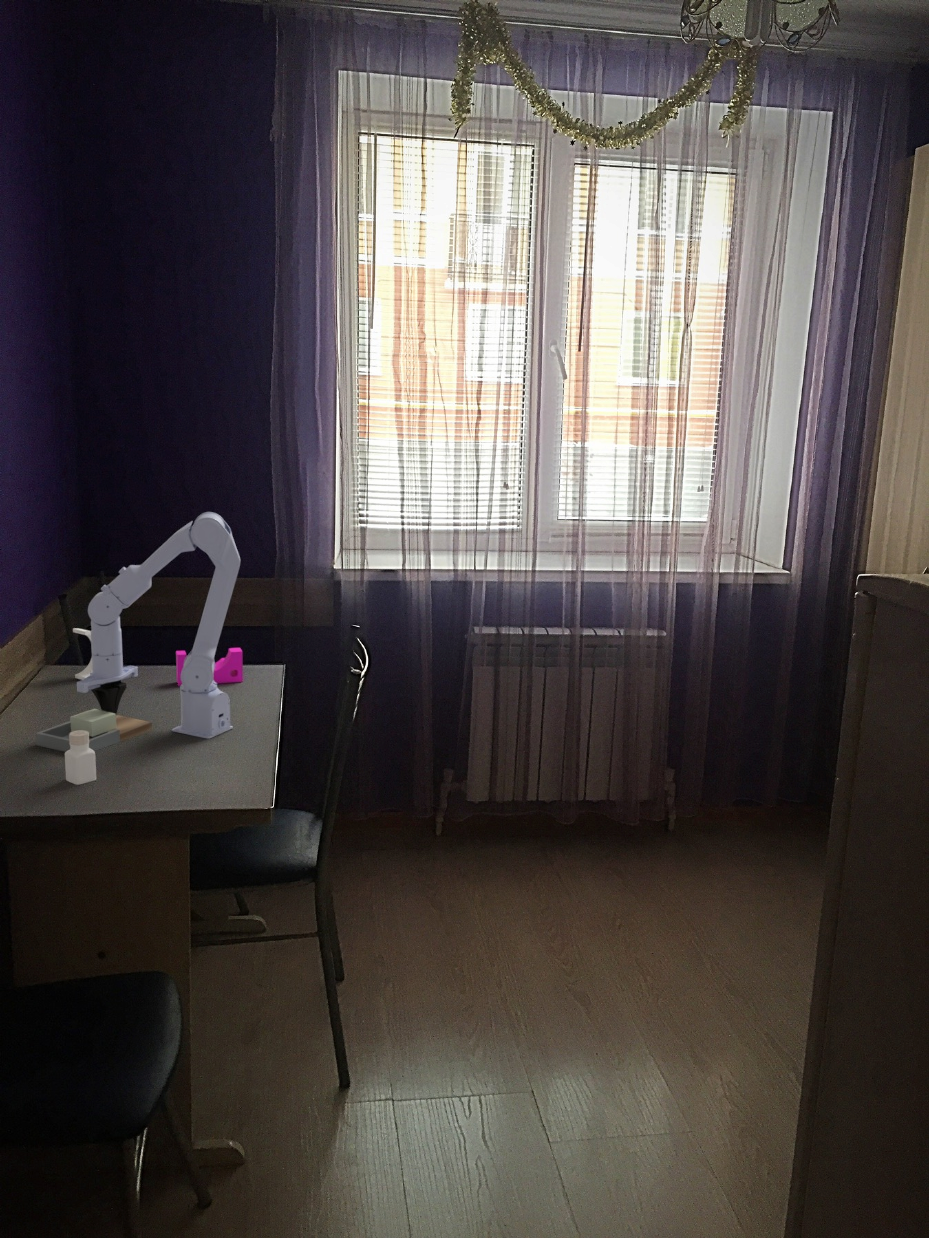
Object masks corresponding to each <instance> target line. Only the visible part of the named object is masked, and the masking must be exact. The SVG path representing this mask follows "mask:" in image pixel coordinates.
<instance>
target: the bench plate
mask: <svg viewBox="0 0 929 1238" xmlns="http://www.w3.org/2000/svg"><path fill="white" fill-rule="evenodd" d="M116 725H117V728H116V729H118V730H120V742H119V743H121V742H123V741H127V740H129V739H131V738H134V736H135V737H136V736H140V735H143V734H144V733H148V732H151V731H153V722H152V721H147V720H143V719H138V718H134V717H128V716H124V715H121V714H120V715H119V714H117V715H116ZM113 730H115V729H113ZM113 730H110V731H113ZM110 731H107V732H104V733H102V734H105V733H108V732H110ZM102 734H99V735H96V736H100V735H102Z"/></svg>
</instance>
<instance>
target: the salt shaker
mask: <svg viewBox="0 0 929 1238" xmlns="http://www.w3.org/2000/svg"><path fill="white" fill-rule="evenodd" d="M69 740H70V741H69V743H70V750H68V751H66V752H64V765H65V766H64V768H65V781H67V782H69V783H72V784H74V785H77V786H79V785H83V784H87V783H90V782H93V781H96V780H97V767H96V765H97V763H96V761H97V759H96V753H95V752H96V751H93V750H92V749H90V748H89V732H88V731H84V730H78V731H73V732H70V734H69Z"/></svg>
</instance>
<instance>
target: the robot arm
mask: <svg viewBox="0 0 929 1238" xmlns="http://www.w3.org/2000/svg"><path fill="white" fill-rule="evenodd" d="M192 524H193V525H192ZM197 547H198V548H199V549H200V550H201V551H203V552H204V553H206V554H207V555H208V558H209V559H210V560H211V562H212V564H213V565H214V566H215V569H214V571H213V576H212V580H211V583H210V585H209V586H210V587H209V590H208V594H207V597H206V601H205V604H204V608H203V612H202V616H201V617H200V618H201V619H200V623H199V626H198V629H197V633H196V635H195V639H194V643H193V647H192V649H191V651H190V652H189V653H188V655H187V654H186V655H187V657H186V658H185V660H184V667H183V669H182V671H181V681H182V684H181V685H180V686H179V688H180V689H179V690H180V691H179V693H180V722H181V723H180V725H177V726H176V727H173V728H172V729H171V731H172V732H174V733H179V734H185V735H188V736H192V737H197V738H203V739H208V740H209V739H212V738H214V737H217V736H218V735H221V734H223V733H226V732H228V731H231V730H233V728H234V726H233V725H231V701H230V697H229V694H228V693H226V692H223V691H222V690H220V689H219V688H218V683H216V682H215V681H214V680H213V677H214V676H213V673H214V669H215V663H216V662H215V655H216V652H217V647H218V644H219V640H220V637H221V635H222V630H223V627H224V622H225V620H226V615H227V612H228V609H229V605H230V602H231V599H232V595H233V593H234V592H233V591H234V588H235V584H236V582H237V578H238V574H239V572H240V571H239V570H240V566H241V557H240V552H239V551H238V549H237V546H236V543H235V539H234V537H233V532H232V529H231V527H230V526H229V525H228V523H227V522H226V521H225V520H224V518H223V517H222V516H221V515H219V514H218V513H216V512H212V511H206V512H202V513H201V514H200V515H198V516H197V517H196V518H195V520H194V522H193V520H191V521H189V522H188V523H186V525H184V526H182V527H181V528H180V529H178V530H177V531H176V532H175V533H173V534H172V535H171V536H170V537H169V538H168V539H167V540H165V542H164V543H162V545H161V546H159V547H158V548H157V549H156V550H155V551H154V552H153V553H152V554H151V555H150V556H149V557H147V559H146V560H145V561H144V562H142V563H141V564H136V565H135V564H130V565H128V567H125V566H122V568H121V569H119V571H118V574H119V575H117V576H116V577H115V578H114V579H113V580H111V581H110V583H109V584H107V585H106V584H104V585H103V586H102V587H100V590H101V592H98V593H97V594H95V595H94V596H93V598H92V599H91V600H90V602H89V603H88V607H87V615H88V617H89V619H90V626H91V627H90V629H91V630H90V631H91V641H90V644H91V646H90V647H91V648H90V649H91V658H92V670H93V672H90V676H88V677H86V678H85V679H83V680H81V679H80V680H79V681H76V691H77V692H78V693H83V694H86V693H88V692H89V691H91V692H92V693H93V695H94V696H95V698H96V700H97V702H98V704H99V707H100V710H103V711H107V712H111V713H115V714H116V715H118V710H119V705H120V704H121V703H120V702H121V698H122V697H123V695H124V693H125V692H126V689H127V683H126V682H123V681H122V680H125V679H128V678H136V677H138V676H139V673H138V672H139V671H138V668H139V667H138V666H134V665H127V666H124V662H123V661H124V660H123V657H124V656H123V637H122V628H121V616H120V615H121V613H122V611H123V609H127V608H129V607H130V606H131V605H132V604H133V603H135V602H136V601H137V600H138V599H139V598H140V597H142V596H143V594H145V593H146V592H147V591H148V590H149V589H151V588H152V578H153V577H154V576H155V575H156V574H158V573H159V572H160V571H161V570H162V569H163V568H165V567H166V566H167V565H168V564H169V563H170V562H171V561H173V560H174V559H175V558H176V557H178V556H179V555H180V554H181V553H185V552H186V553H187V552H194V551H195V550H196V549H197Z"/></svg>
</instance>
